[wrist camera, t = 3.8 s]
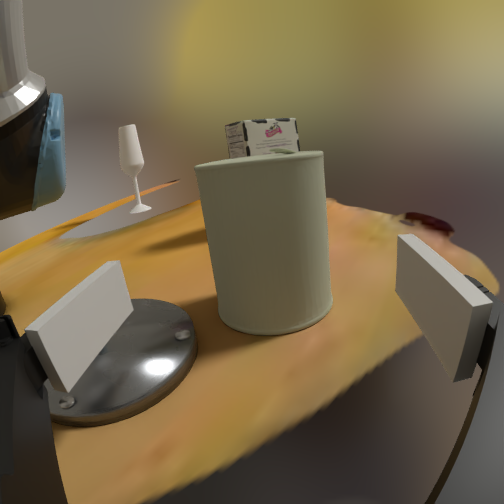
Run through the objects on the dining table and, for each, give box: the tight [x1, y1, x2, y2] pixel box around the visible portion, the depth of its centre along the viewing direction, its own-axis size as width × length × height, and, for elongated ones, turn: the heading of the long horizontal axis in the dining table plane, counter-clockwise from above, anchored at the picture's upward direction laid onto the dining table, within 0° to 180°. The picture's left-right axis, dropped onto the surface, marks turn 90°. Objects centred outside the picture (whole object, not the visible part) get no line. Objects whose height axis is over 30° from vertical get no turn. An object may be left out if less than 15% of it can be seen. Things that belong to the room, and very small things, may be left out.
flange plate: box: [44, 299, 198, 427], centre depth 20 cm, size 14×14×1 cm
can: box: [194, 148, 333, 335], centre depth 23 cm, size 9×9×12 cm
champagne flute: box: [119, 125, 151, 214], centre depth 80 cm, size 7×7×24 cm
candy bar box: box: [225, 118, 300, 159], centre depth 48 cm, size 11×5×16 cm, turn 131°
